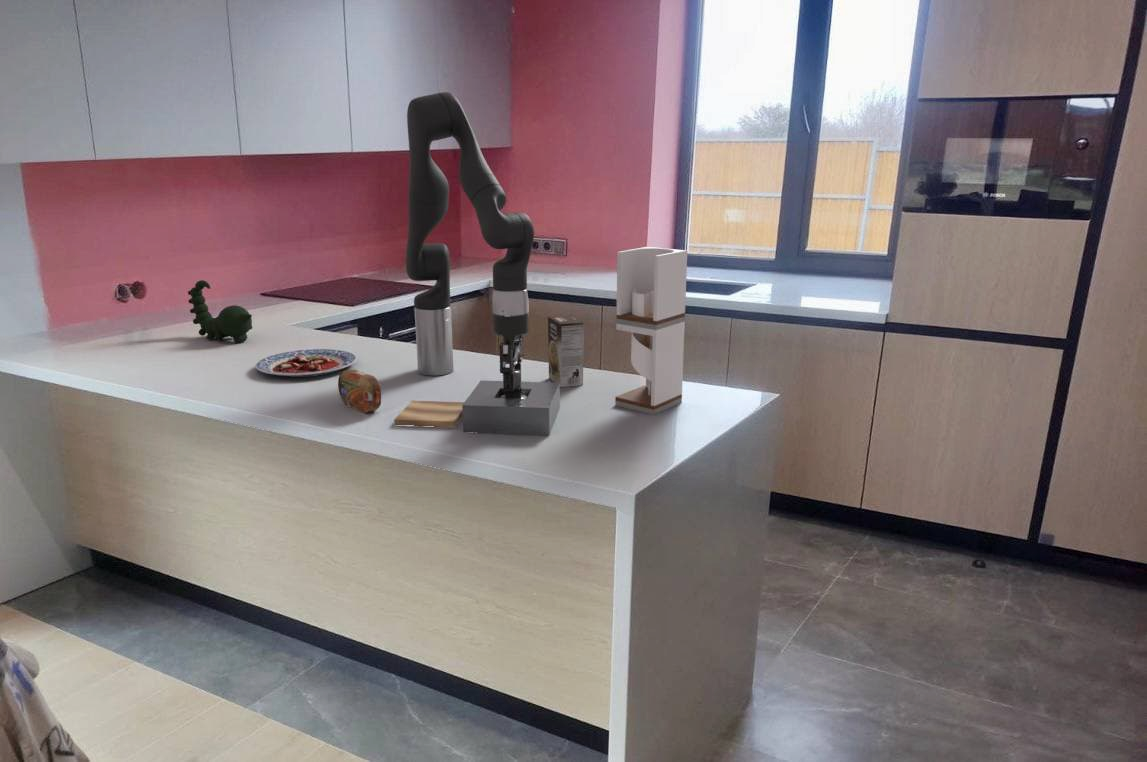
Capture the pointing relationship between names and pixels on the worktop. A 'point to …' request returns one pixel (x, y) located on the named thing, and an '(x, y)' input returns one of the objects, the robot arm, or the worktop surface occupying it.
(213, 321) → the toy figurine
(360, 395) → the tin
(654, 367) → the white shelf stand
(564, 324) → the coffee box
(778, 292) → the worktop surface
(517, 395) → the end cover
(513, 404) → the housing
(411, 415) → the oak pad
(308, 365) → the ceramic plate
